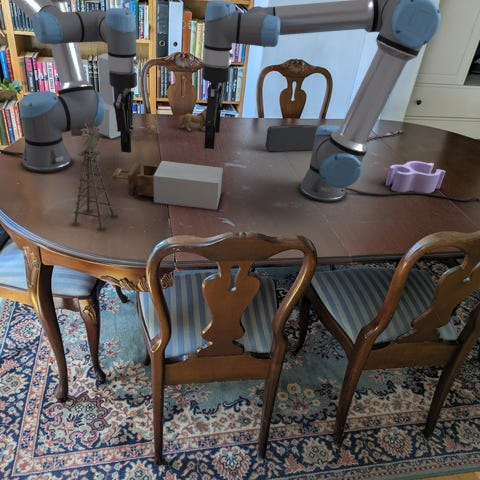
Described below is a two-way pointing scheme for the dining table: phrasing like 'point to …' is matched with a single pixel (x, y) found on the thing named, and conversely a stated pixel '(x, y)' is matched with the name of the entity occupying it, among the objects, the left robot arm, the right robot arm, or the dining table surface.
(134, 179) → the drawer
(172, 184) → the cabinet
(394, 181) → the clip
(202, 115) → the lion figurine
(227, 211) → the dining table surface
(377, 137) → the sword
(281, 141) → the handheld gaming console
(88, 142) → the miniature windmill
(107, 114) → the electronic device
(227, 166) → the dining table surface
